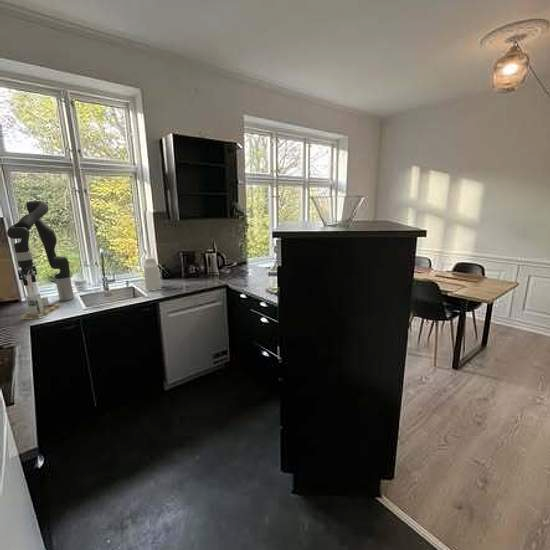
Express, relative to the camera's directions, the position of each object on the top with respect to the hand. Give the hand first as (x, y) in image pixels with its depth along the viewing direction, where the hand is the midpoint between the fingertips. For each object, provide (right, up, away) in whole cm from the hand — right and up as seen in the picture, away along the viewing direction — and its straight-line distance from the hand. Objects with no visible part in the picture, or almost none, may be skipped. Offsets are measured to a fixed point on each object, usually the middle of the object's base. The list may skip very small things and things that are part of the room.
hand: (30, 283), depth 196 cm
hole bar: (0, -20, +10) cm, 23 cm away
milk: (+55, -6, +62) cm, 83 cm away
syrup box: (+1, -21, +5) cm, 22 cm away
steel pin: (-1, -19, +16) cm, 25 cm away
